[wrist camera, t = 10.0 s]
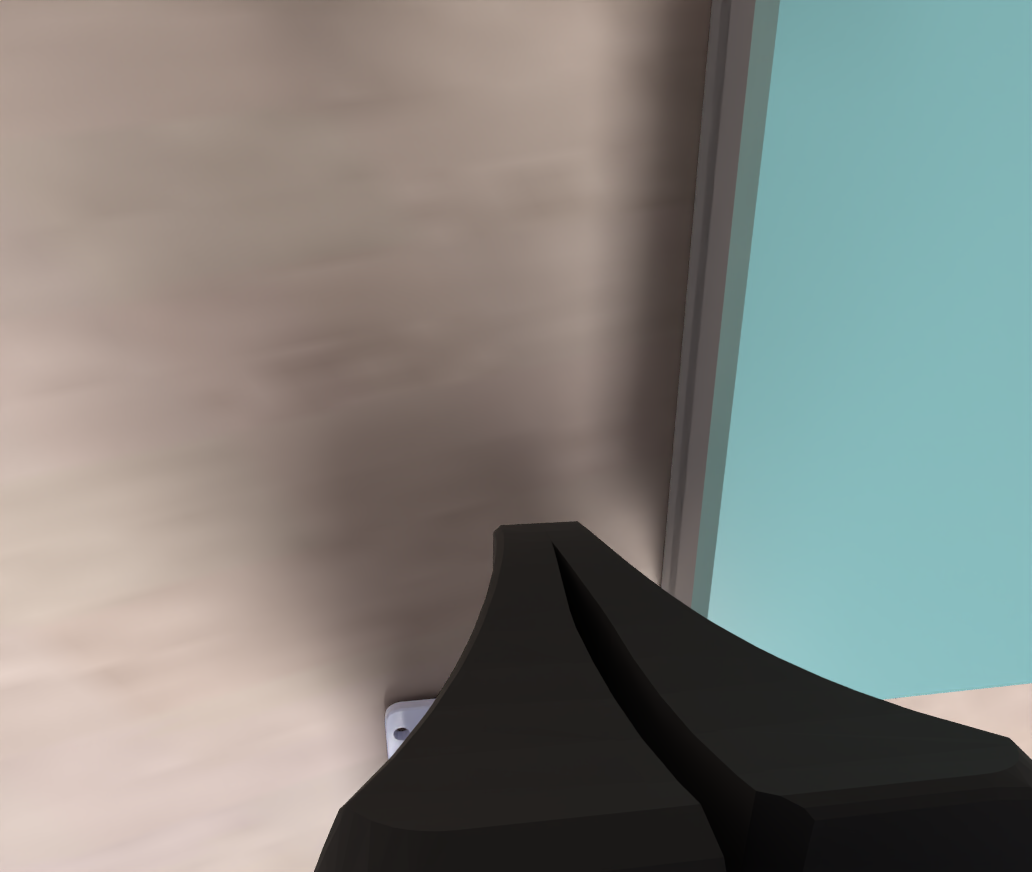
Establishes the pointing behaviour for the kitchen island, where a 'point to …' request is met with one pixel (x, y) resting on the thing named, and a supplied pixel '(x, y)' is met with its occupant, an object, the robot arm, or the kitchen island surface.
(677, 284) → the kitchen island surface
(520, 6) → the kitchen island surface
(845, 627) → the panel
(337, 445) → the kitchen island surface
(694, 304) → the cable duct
